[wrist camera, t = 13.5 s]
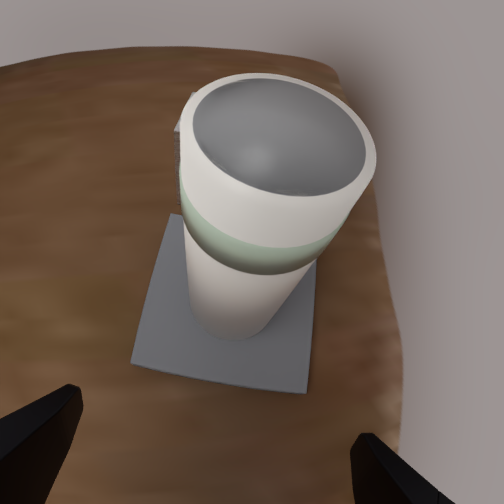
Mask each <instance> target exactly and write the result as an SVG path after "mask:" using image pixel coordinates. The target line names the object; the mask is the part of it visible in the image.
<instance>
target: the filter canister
mask: <svg viewBox="0 0 504 504" xmlns="http://www.w3.org/2000/svg"><path fill="white" fill-rule="evenodd" d="M180 157H181V161H180V168H179V178H180V197H181V211H182V216H183V222H184V237H185V251H186V264H187V276H188V287H189V298H190V306H191V310H192V313H193V315H194V318H195V319H196V321H197V322H198V324H199V325H200V326H201V327H202V328H203V329H204V330H205V331H207V332H208V333H209V334H211V335H213V336H215V337H217V338H220V339H224V340H231V341H233V340H243V339H247V338H249V337H252V336H254V335H255V334H257V333H259V332H260V331H261V330H262V329H263V328H264V327H265V326H266V325H267V323H268V322H269V321H270V320H271V318H272V317H273V316H274V314H275V313H276V312H277V311H278V309H279V308H280V307H281V305H282V304H283V303H284V301H285V300H286V299H287V297H288V296H289V295H290V293H291V292H292V291H293V289H294V288H295V287H296V285H297V284H298V283H299V281H300V280H301V279H302V277H303V276H304V275H305V273H306V272H307V270H308V269H309V268H310V266H311V265H312V264H313V262H314V261H315V260H316V258H317V257H318V256H319V255H320V254H321V253H322V252H323V251H324V250H325V248H326V247H327V246H328V244H329V243H330V242H331V240H332V239H333V237H334V236H335V235H336V233H337V232H338V230H339V229H340V228H341V226H342V225H343V223H344V222H345V220H346V219H347V217H348V215H349V213H350V210H351V209H352V207H353V206H354V204H355V203H356V201H357V200H358V198H359V197H360V196H361V194H362V193H363V191H364V190H365V188H366V187H367V185H368V184H369V182H370V180H371V178H372V177H373V174H374V171H375V168H376V150H375V146H374V142H373V140H372V137H371V135H370V133H369V131H368V130H367V128H366V126H365V125H364V123H363V122H362V120H361V119H360V118H359V117H358V116H357V115H356V114H355V112H354V111H353V110H352V109H350V108H349V107H348V106H347V105H346V104H345V103H343V102H342V101H341V100H339V99H338V98H337V97H335V96H333V95H332V94H330V93H329V92H327V91H325V90H323V89H321V88H319V87H317V86H315V85H313V84H310V83H308V82H305V81H302V80H299V79H295V78H292V77H287V76H282V75H276V74H268V73H247V74H239V75H233V76H229V77H225V78H222V79H219V80H216V81H214V82H212V83H210V84H208V85H206V86H205V87H203V88H201V89H200V90H199V91H198V92H196V93H195V94H194V95H193V96H192V97H191V98H190V100H189V101H188V102H187V104H186V106H185V107H184V109H183V112H182V115H181V120H180Z"/></svg>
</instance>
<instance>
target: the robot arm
mask: <svg viewBox="0 0 504 504" xmlns="http://www.w3.org/2000/svg"><path fill="white" fill-rule="evenodd" d="M82 412H83V400H82V393H81V389H80V388H79V387H77V386H75V385H72V384H67V385H65V386H63V387H61V388H59V389H57V390H55V391H53V392H51V393H49V394H48V395H46V396H44V397H42V398H40V399H38V400H36V401H34V402H32V403H30V404H28V405H26V406H24V407H22V408H21V409H19V410H17V411H15V412H13V413H11V414H9V415H7V416H5V417H3V418H1V419H0V504H45V502H46V499H47V497H48V495H49V493H50V490H51V488H52V486H53V484H54V481H55V479H56V477H57V475H58V473H59V470H60V468H61V466H62V464H63V462H64V460H65V458H66V456H67V453H68V451H69V449H70V446H71V444H72V441H73V438H74V435H75V432H76V429H77V426H78V423H79V420H80V417H81V415H82ZM350 459H351V472H352V486H353V494H354V499H355V504H455V503H454V502H452V501H451V500H450V499H448V498H447V497H446V496H445V495H444V494H442V493H441V492H439V491H438V490H437V489H436V488H435V487H434V486H433V485H432V484H430V483H429V482H428V481H427V480H426V479H425V478H423V477H422V476H421V475H420V474H419V473H417V472H416V471H415V470H414V469H413V468H412V467H411V466H409V465H408V464H407V463H406V462H405V461H404V460H402V458H400V457H399V456H398V455H397V454H396V453H395V452H394V451H393V450H391V449H390V448H389V447H388V446H387V445H386V444H385V443H384V442H382V441H381V440H380V439H379V438H378V437H377V436H376V435H375V434H373V433H361V434H360V435H359V436H358V438H357V439H356V441H355V443H354V444H353V446H352V448H351V450H350Z"/></svg>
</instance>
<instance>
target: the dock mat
mask: <svg viewBox="0 0 504 504" xmlns="http://www.w3.org/2000/svg"><path fill="white" fill-rule="evenodd" d="M316 261H317V258H316V260H315V261H314V262H313V264H312V265H311V266H310V268H309V269H308V270H307V272H306V273H305V275H304V276H303V277H302V279H301V280H300V281H299V283H298V284H297V285H296V287H295V288H294V289H293V291H292V292H291V293H290V295H289V296H288V297H287V299H286V300H285V301H284V303H283V304H282V305H281V307H280V308H279V309H278V311H277V312H276V313H275V314H274V316H273V317H272V318H271V320H270V321H269V322H268V323H267V325H266V326H265V327H264V328H263V329H262V330H261V331H260V332H259V333H257V334H255V335H254V336H252V337H249V338H247V339H243V340H233V341H231V340H224V339H220V338H217V337H215V336H213V335H211V334H209V333H208V332H207V331H205V330H204V329H203V328H202V327H201V326H200V325H199V324H198V322H197V321H196V319H195V318H194V315H193V313H192V310H191V306H190V298H189V287H188V276H187V264H186V251H185V237H184V222H183V216H182V215H177V214H170V218H169V221H168V224H167V227H166V230H165V233H164V237H163V240H162V243H161V247H160V250H159V253H158V257H157V260H156V263H155V267H154V270H153V274H152V278H151V281H150V285H149V288H148V292H147V296H146V300H145V303H144V307H143V311H142V315H141V319H140V323H139V327H138V331H137V336H136V340H135V344H134V348H133V353H132V357H131V362H130V363H131V364H133V365H135V366H139V367H143V368H147V369H151V370H155V371H160V372H164V373H169V374H173V375H178V376H183V377H187V378H192V379H198V380H203V381H208V382H214V383H220V384H225V385H232V386H238V387H245V388H251V389H259V390H266V391H275V392H283V393H293V394H306V393H307V383H308V373H309V363H310V352H311V340H312V327H313V313H314V298H315V281H316Z"/></svg>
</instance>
